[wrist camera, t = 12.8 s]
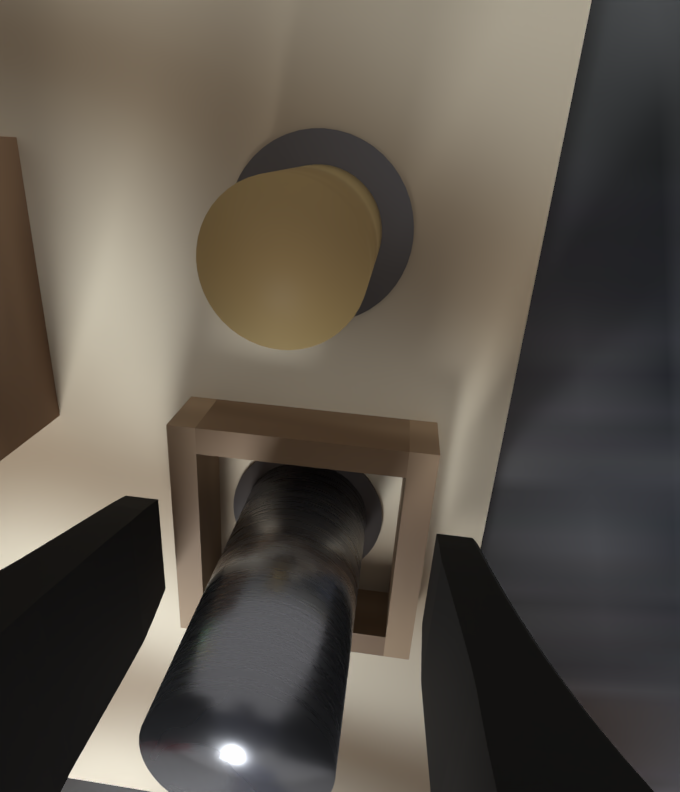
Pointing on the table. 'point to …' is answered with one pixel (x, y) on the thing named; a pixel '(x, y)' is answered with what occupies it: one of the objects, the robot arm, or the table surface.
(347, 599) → the peg
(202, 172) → the board
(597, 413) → the table surface
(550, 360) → the table surface
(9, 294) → the block
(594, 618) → the table surface
